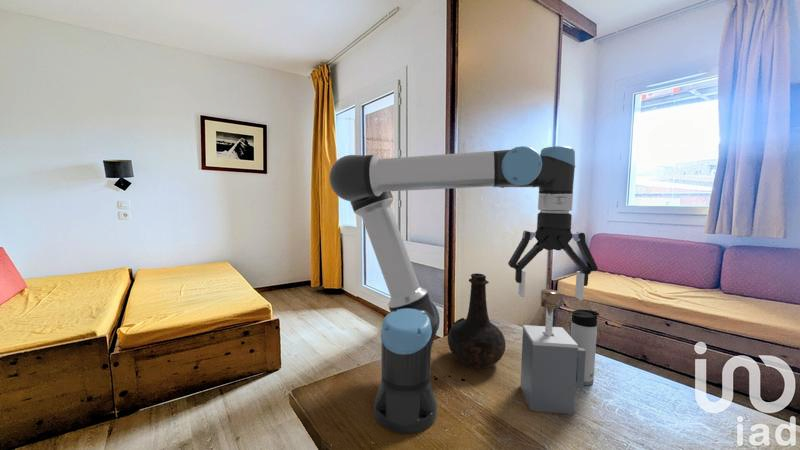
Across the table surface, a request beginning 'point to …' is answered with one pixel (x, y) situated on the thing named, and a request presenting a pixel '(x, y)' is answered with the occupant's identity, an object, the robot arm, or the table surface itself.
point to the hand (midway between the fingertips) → (549, 297)
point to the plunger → (550, 307)
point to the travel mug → (585, 339)
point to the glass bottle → (476, 331)
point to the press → (551, 369)
